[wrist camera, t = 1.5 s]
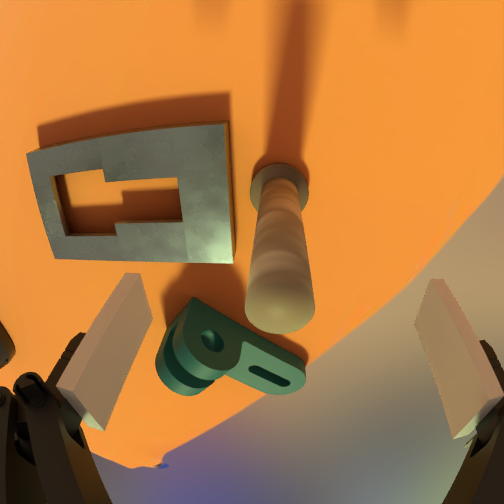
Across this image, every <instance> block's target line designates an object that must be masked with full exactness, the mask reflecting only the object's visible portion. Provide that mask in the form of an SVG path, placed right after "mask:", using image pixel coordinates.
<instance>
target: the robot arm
mask: <svg viewBox="0 0 504 504" xmlns="http://www.w3.org/2000/svg"><path fill="white" fill-rule="evenodd" d="M152 319H153V317H152V314H151V310H150V307H149V304H148V300H147V297H146V293H145V290H144V286H143V282H142V279H141V275H140V274H138V273H125V275H124V276H123V278H122V279H121V281H120V282H119V283H118V285H117V286H116V288H115V289H114V291H113V292H112V294H111V295H110V297H109V298H108V300H107V301H106V303H105V305H104V306H103V308H102V309H101V311H100V312H99V314H98V315H97V317H96V319H95V320H94V322H93V323H92V325H91V327H90V328H89V330H88V331H87V333H81V332H80V333H78V334H77V335H76V336H75V337H74V338H73V339H71V341H70V342H69V344H68V345H67V347H66V349H65V351H64V352H63V354H62V355H61V359H59V360H58V362H57V364H56V365H55V367H54V369H53V370H52V372H51V374H50V375H49V377H48V379H47V381H46V382H44V381H43V380H42V378H41V377H40V376H39V375H38V374H37V373H34V372H27V373H24V374H23V375H21V376H20V377H19V378H18V379H17V380H16V382H15V384H14V386H13V392H14V393H15V394H16V395H13V394H12V393H11V391H10V390H9V389H8V388H6V387H3V386H0V504H112V502H111V500H110V498H109V495H108V493H107V491H106V489H105V487H104V484H103V482H102V480H101V478H100V475H99V473H98V471H97V468H96V466H95V463H94V461H93V458H92V455H91V453H90V450H89V447H88V444H87V442H86V439H85V436H84V433H83V430H82V428H81V426H80V423H81V421H82V419H83V421H84V422H85V423H86V424H87V425H88V426H89V427H92V428H95V429H99V430H102V431H105V429H106V426H107V424H108V421H109V419H110V416H111V414H112V411H113V409H114V406H115V404H116V401H117V399H118V396H119V394H120V392H121V389H122V387H123V384H124V382H125V380H126V377H127V375H128V373H129V370H130V368H131V366H132V364H133V361H134V359H135V357H136V355H137V352H138V350H139V348H140V346H141V343H142V341H143V339H144V337H145V335H146V332H147V330H148V328H149V326H150V324H151V322H152ZM414 325H415V328H416V330H417V333H418V335H419V338H420V340H421V343H422V345H423V348H424V351H425V353H426V356H427V359H428V362H429V364H430V367H431V370H432V373H433V375H434V379H435V382H436V385H437V387H438V390H439V394H440V397H441V400H442V403H443V407H444V410H445V413H446V417H447V420H448V423H449V427H450V431H451V434H452V438H453V439H455V438H458V437H462V436H466V435H468V434H469V433H470V432H471V431H472V430H473V429H474V428H475V427H476V431H477V434H476V435H475V436H474V437H473V438H472V439H471V440H470V441H469V442H467V444H466V445H465V447H468V446H469V445H470V444H471V446H470V448H469V450H468V453H467V455H466V457H465V459H464V462H463V464H462V466H461V468H460V470H459V472H458V474H457V476H456V478H455V480H454V482H453V484H452V487H451V488H450V490H449V492H448V494H447V496H446V498H445V499H444V501H443V503H442V504H504V370H503V368H502V367H501V364H500V363H499V360H497V356H496V354H495V352H494V350H493V348H492V347H491V346H490V345H489V344H488V343H487V342H486V341H485V340H481V341H479V340H478V338H477V336H476V334H475V333H474V331H473V329H472V327H471V325H470V323H469V322H468V320H467V318H466V316H465V314H464V313H463V311H462V309H461V307H460V306H459V304H458V302H457V301H456V299H455V297H454V296H453V294H452V292H451V291H450V289H449V288H448V286H447V284H446V283H445V281H444V280H443V279H430V280H429V283H428V287H427V289H426V292H425V295H424V298H423V301H422V304H421V306H420V309H419V312H418V315H417V317H416V320H415V322H414ZM14 355H15V347H14V345H13V342H12V340H11V339H10V337H9V335H8V334H7V332H6V331H5V329H4V328H3V327H2V325H1V324H0V369H1V368H2V367H4V366H5V365H6V364H8V363H9V362H10V361H11V360H12V358H13V357H14Z"/></svg>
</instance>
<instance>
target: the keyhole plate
mask: <svg viewBox="0 0 504 504" xmlns="http://www.w3.org/2000/svg"><path fill="white" fill-rule="evenodd" d="M26 155H27V160H28V165H29V170H30V174H31V179H32V183H33V187H34V191H35V195H36V199H37V203H38V206H39V210H40V214H41V217H42V220H43V224H44V227H45V230H46V233H47V237H48V240H49V243H50V246H51V249H52V251H53V254H54V257H55V259H75V260H107V261H143V262H186V263H233V261H234V257H235V253H236V244H235V228H234V212H233V195H232V178H231V159H230V140H229V121H215V122H199V123H187V124H176V125H166V126H157V127H148V128H141V129H133V130H126V131H120V132H114V133H108V134H102V135H96V136H91V137H86V138H81V139H76V140H71V141H66V142H62V143H57V144H53V145H49V146H45V147H41V148H38V149H36V150H33V151H31V152H29V153H27V154H26ZM97 169H103V171H104V177H105V182H114V181H126V180H138V179H152V178H169V177H177V179H178V187H179V195H180V203H181V211H182V218H183V219H176V220H129V221H116V222H115V223H114V225H115V229H116V233H79V234H70V230H69V227H68V223H67V220H66V216H65V212H64V209H63V205H62V201H61V197H60V193H59V188H58V184H57V180H56V175H61V174H68V173H75V172H82V171H89V170H97Z"/></svg>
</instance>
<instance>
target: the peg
mask: <svg viewBox="0 0 504 504" xmlns="http://www.w3.org/2000/svg"><path fill="white" fill-rule="evenodd" d="M308 196H309V190H308V186H307V182H306V179H305V177H304V176H303V174H302V173H301V172H300V171H299V170H298V169H297V168H295V167H294V166H292V165H289V164H286V163H272V164H269V165H266V166H264V167H263V168H261V169H260V170H259V171H258V172H257V173H256V175H255V176H254V178H253V180H252V184H251V188H250V198H251V202H252V204H253V206H254V208H255V209H256V210H257V211H258V217H257V223H256V230H255V237H254V244H253V251H252V258H251V265H250V272H249V279H248V286H247V293H246V300H245V314H246V316H247V318H248V320H249V321H250V322H251V323H252V324H253V325H254V326H255V327H257V328H258V329H260V330H262V331H265V332H268V333H273V334H286V333H291V332H294V331H297V330H299V329H301V328H303V327H304V326H305V325H307V324H308V323H309V321H310V320H311V319H312V317H313V315H314V311H315V303H314V296H313V288H312V281H311V273H310V266H309V259H308V253H307V246H306V240H305V233H304V227H303V221H302V215H301V211H302V210H303V209H304V207H305V206H306V204H307V201H308Z"/></svg>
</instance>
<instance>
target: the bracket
mask: <svg viewBox="0 0 504 504" xmlns="http://www.w3.org/2000/svg"><path fill="white" fill-rule="evenodd" d="M155 366H156V370H157V373H158V376H159V377H160V379H161V381H162V382H163V383H164V384H165V385H166V386H167V387H168V388H169V389H170V390H172V391H174V392H175V393H178V394H180V395H185V396H193V395H197V394H199V393H200V392H202V391H203V390H205V389H206V388H207V387H209V386H210V385H211V384H212V383H213V382H214V381H215V379H218V378H220V377H222V376H223V375H224V374H225V375H227V376H229V377H231V378H233V379H235V380H238V381H240V382H242V383H244V384H246V385H248V386H250V387H253V388H255V389H257V390H259V391H261V392H264V393H267V394H272V395H285V394H290V393H293V392H295V391H298V390H299V389H301V388H302V387H303V386H304V384H305V381H306V374H305V364H304V362H303V360H302V359H301V358H300V357H298V356H296V355H295V354H293V353H291V352H289V351H287V350H285V349H283V348H281V347H280V346H278V345H276V344H274V343H272V342H271V341H269V340H267V339H265V338H263V337H262V336H260V335H258V334H256V333H254V332H253V331H251V330H249V329H247V328H246V327H244V326H242V325H240V324H239V323H237V322H235V321H233V320H232V319H230V318H228V317H227V316H225V315H223V314H222V313H220V312H218V311H217V310H215V309H213V308H211V307H210V306H208V305H206V304H205V303H203V302H202V301H200V300H198V299H197V298H195V297H193V298H192V299H191V300H190V301H189V302H188V304H187V305H186V306H185V307H184V308H183V310H182V311H181V312H180V313H179V314H178V316H177V317H176V318H175V319H174V321H173V322H172V323H171V324H170V325H169V327H168V328H167V329H166V332H165V334H164V337H163V340H162V342H161V345H160V347H159V350H158V353H157V355H156V360H155Z"/></svg>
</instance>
